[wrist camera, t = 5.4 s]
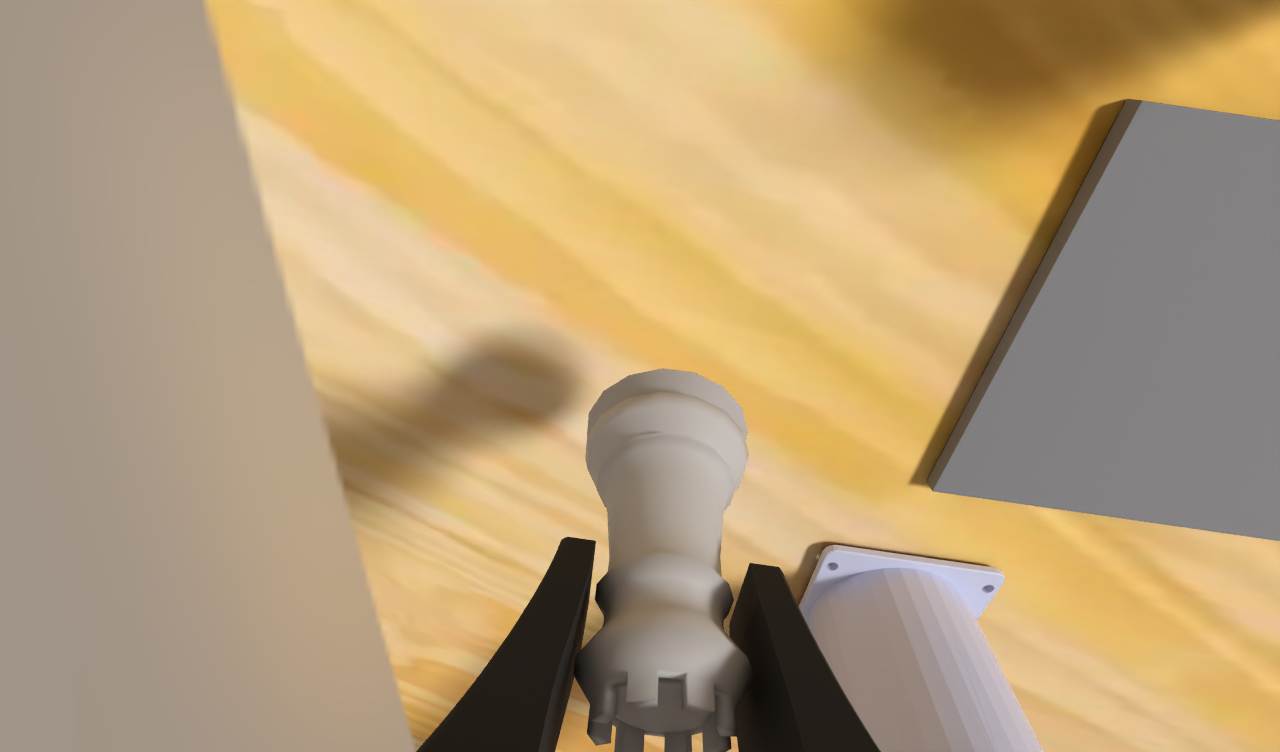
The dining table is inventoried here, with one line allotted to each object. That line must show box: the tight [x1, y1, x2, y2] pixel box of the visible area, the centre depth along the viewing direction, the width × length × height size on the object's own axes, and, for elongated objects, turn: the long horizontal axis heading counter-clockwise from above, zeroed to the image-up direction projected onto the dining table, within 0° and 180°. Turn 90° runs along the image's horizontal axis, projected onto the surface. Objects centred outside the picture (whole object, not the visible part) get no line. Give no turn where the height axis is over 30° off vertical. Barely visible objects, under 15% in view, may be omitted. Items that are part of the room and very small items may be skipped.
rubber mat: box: [927, 99, 1280, 541], centre depth 18 cm, size 14×14×1 cm
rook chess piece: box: [573, 369, 754, 752], centre depth 12 cm, size 4×4×8 cm
